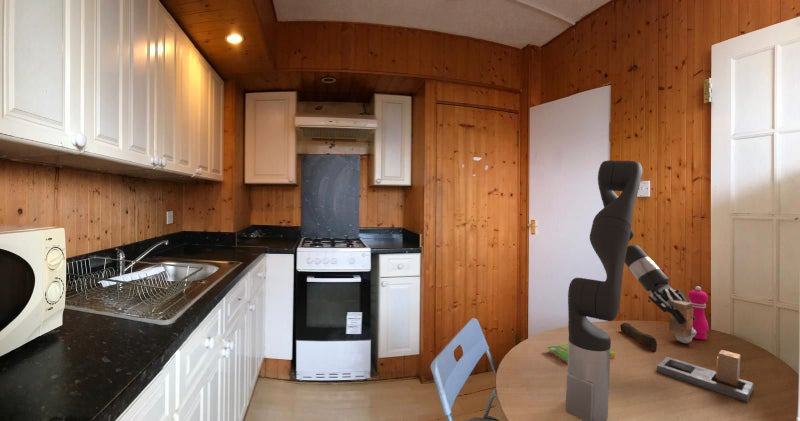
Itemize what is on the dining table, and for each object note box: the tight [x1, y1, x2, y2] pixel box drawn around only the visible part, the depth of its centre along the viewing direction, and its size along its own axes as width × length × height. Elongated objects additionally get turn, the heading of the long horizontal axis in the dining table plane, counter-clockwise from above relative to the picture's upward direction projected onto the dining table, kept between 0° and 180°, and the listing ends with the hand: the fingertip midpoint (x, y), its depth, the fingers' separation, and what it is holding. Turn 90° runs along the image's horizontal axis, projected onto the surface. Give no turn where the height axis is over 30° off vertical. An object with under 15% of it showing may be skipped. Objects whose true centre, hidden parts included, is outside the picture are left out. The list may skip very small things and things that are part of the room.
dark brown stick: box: [619, 322, 658, 352], centre depth 131 cm, size 19×4×5 cm, turn 174°
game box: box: [545, 344, 616, 364], centre depth 118 cm, size 3×10×20 cm
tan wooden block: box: [668, 300, 693, 338], centre depth 107 cm, size 4×4×10 cm
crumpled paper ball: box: [674, 327, 696, 344], centre depth 130 cm, size 6×7×7 cm
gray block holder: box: [656, 349, 754, 403], centre depth 103 cm, size 20×10×10 cm, turn 38°
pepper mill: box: [687, 285, 710, 340], centre depth 136 cm, size 7×7×20 cm
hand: (688, 321), depth 105 cm, fingers closed on tan wooden block, 4 cm apart
